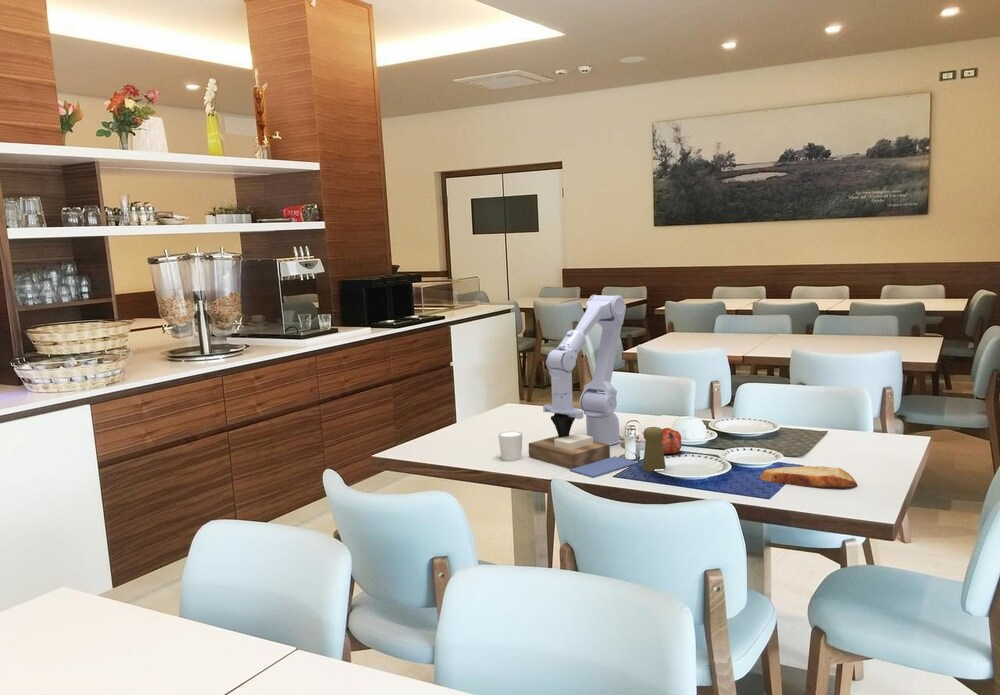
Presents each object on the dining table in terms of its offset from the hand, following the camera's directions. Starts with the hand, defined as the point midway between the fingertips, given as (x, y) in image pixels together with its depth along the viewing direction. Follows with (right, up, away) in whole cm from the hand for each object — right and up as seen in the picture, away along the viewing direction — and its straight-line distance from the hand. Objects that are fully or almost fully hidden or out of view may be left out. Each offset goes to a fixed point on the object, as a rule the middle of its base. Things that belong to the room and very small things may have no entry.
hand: (563, 440), depth 227 cm
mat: (+10, -6, -11) cm, 16 cm away
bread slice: (+57, -7, -31) cm, 65 cm away
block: (+3, -1, -3) cm, 4 cm away
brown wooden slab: (+1, -5, -1) cm, 5 cm away
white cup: (-15, -5, +2) cm, 16 cm away
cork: (+23, -6, -15) cm, 28 cm away
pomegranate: (+29, -4, -1) cm, 29 cm away
